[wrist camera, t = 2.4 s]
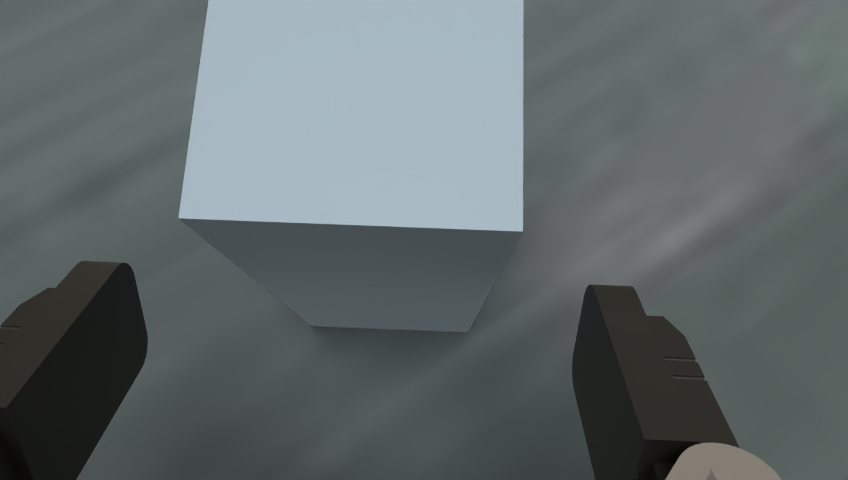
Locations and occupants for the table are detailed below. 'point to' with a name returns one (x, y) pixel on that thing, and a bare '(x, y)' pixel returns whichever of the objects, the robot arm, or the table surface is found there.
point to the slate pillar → (361, 154)
